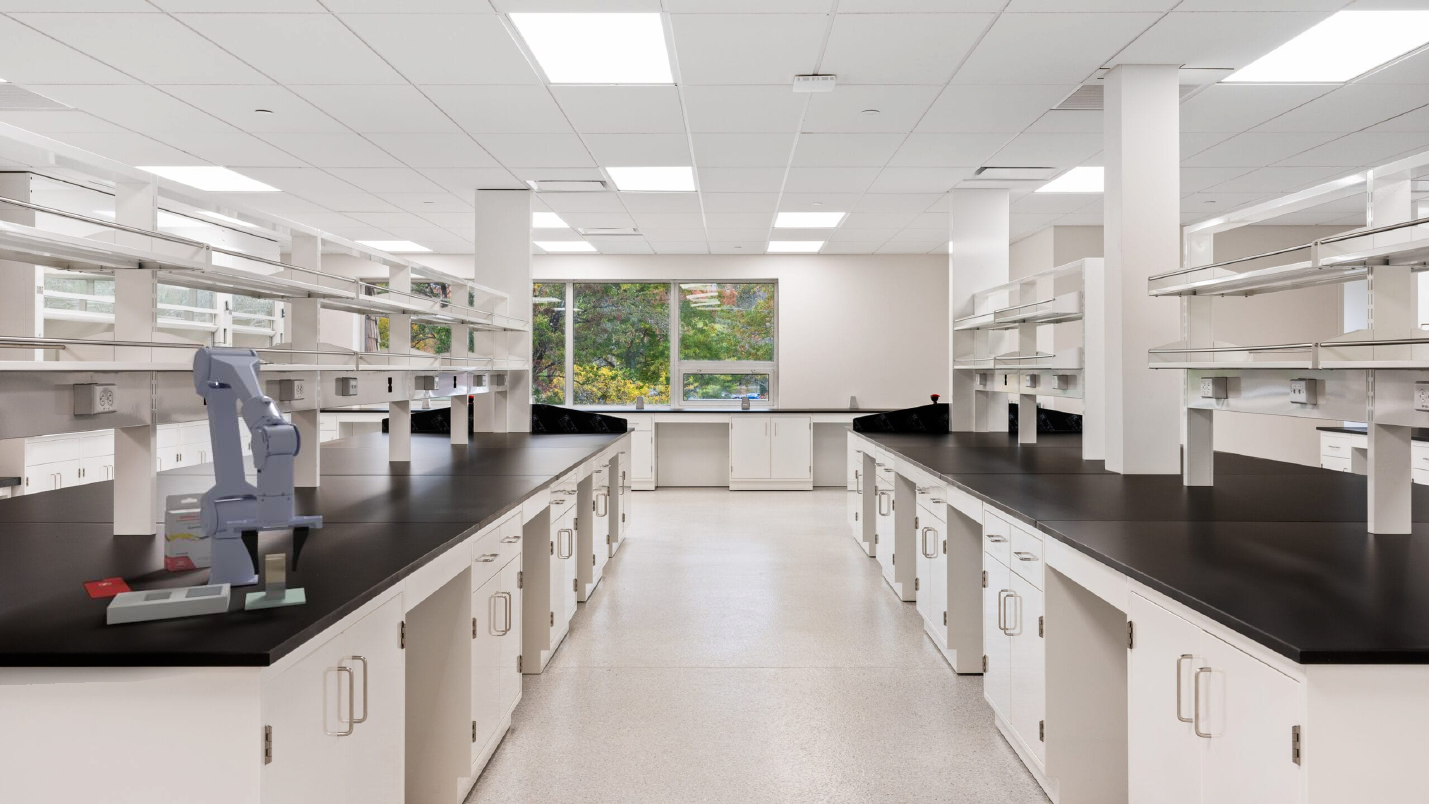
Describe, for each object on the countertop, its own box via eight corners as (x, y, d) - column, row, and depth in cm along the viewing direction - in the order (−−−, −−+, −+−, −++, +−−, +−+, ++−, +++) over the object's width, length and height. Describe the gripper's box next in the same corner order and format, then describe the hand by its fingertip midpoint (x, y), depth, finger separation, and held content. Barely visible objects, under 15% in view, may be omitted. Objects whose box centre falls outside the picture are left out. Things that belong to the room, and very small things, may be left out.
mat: (246, 595, 143) (246, 593, 143) (303, 590, 148) (303, 587, 148) (244, 609, 135) (244, 607, 135) (305, 603, 139) (305, 601, 139)
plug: (265, 594, 143) (265, 555, 143) (285, 592, 144) (285, 553, 144) (265, 600, 139) (265, 560, 139) (285, 598, 140) (285, 558, 140)
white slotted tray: (118, 608, 135) (118, 592, 135) (230, 597, 142) (230, 582, 142) (107, 624, 126) (107, 607, 126) (227, 611, 133) (227, 596, 133)
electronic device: (132, 595, 144) (121, 579, 155) (132, 592, 144) (120, 576, 155) (91, 600, 140) (82, 584, 151) (91, 597, 140) (82, 581, 151)
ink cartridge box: (170, 572, 160) (170, 497, 160) (163, 568, 163) (163, 495, 163) (219, 565, 166) (219, 493, 166) (211, 561, 170) (211, 491, 169)
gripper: (225, 499, 134) (225, 581, 134) (323, 494, 141) (323, 572, 141) (228, 494, 140) (228, 572, 140) (321, 489, 147) (321, 564, 147)
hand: (275, 572), depth 141 cm, fingers open, 5 cm apart
